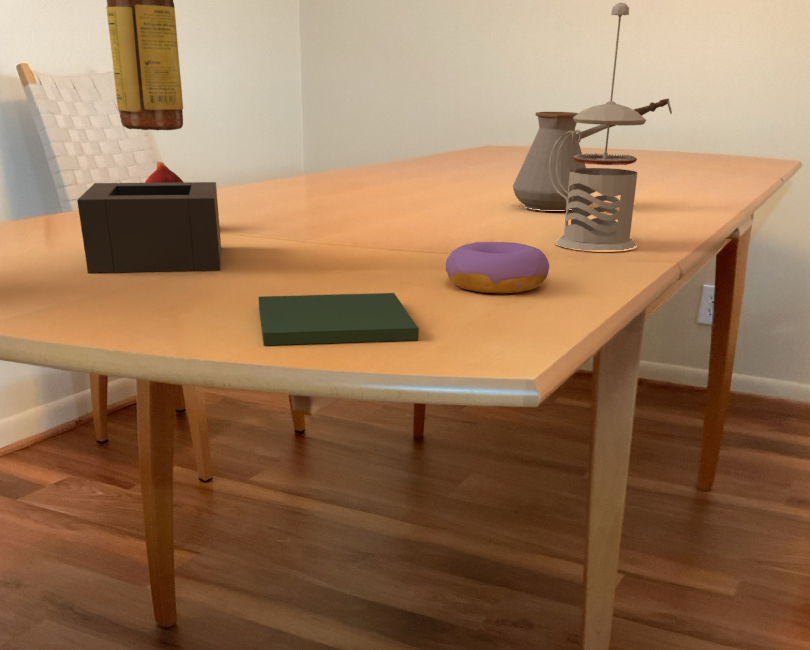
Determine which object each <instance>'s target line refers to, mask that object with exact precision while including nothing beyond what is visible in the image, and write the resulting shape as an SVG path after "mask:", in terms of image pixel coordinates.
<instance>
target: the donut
mask: <svg viewBox="0 0 810 650" xmlns="http://www.w3.org/2000/svg"><path fill="white" fill-rule="evenodd" d="M549 271H550V262H549V259H548V257H547V255H546V254H545V253H544V252H543V251H542V250H541V249H539V248H537V247H535V246H532V245H528V244H524V243H519V242H508V241H507V242H506V241H475V242H471V243H467V244H463V245H460V246H458V247H455V248H454V249H453V250H452V251H451V252H450V253H449V254H448V256H447V258H446V261H445V272H446V274H447V276H448V279H449V280H450V281H451V283H453V284H454V285H456V286H458V287H459V288H461V289H464V290H468V291H471V292H477V293H484V294H485V293H486V294H518V293H524V292H528V291H532V290H534V289H536V288H538V287H539V286H541V285H542V284H543V283H544V282H545V281H546V279H547V278H548V276H549Z"/></svg>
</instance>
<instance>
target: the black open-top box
mask: <svg viewBox="0 0 810 650" xmlns="http://www.w3.org/2000/svg"><path fill="white" fill-rule="evenodd" d="M76 202H77V208H78V215H79V216H78V217H79V222H80V228H81V237H82V242H83V250H84V257H85V263H86V269H87V274H100V273H99V272H102V273H101V274H104V272H112V273H115V272H116V273H152V272H153V273H154V272H155V273H157V272H159V273H160V272H161V273H162V272H196V271H198V272H201V271H204V272H205V271H220V270H221V263H222V261H221V260H222V259H221V258H222V240H221V227H220V218H219V216H220V215H219V203H218V189H217V182H216V181H214V182H213V181H198V182H197V181H195V182H194V181H193V182H191V181H183V182H173V183H145V182H94V183H93V184H92V185H91V186H90V187H89V188H87V190H86V191H84V193H83V194H82V195H80V197H79V198H77V199H76Z"/></svg>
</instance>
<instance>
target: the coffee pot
mask: <svg viewBox="0 0 810 650" xmlns="http://www.w3.org/2000/svg"><path fill="white" fill-rule="evenodd" d="M664 106H667V109H668V112H669V114H670V115H672V114H673V112H672V107H671V103H670V98H669V97H668V98H663V99H660V100H659V101H657V102H653V101H651V102H650V103H649V104H648V105H645V106H641V107H638V108H637V107H636V108H634V109H633V110H635V111H636V112H638V113H639V114H640V115H641V116H642V117H643V116H644V115H646V114H647V113H649V112H655V111H656V110H657V109H658V108H663V107H664ZM578 113H579V112H573V111H571V112H570V111H537V112H535V116H536V117H537V120H538V121H537V122H538V130H537V133H536V134H535V136H534V138H533V141H532V143H531V145H530V147H529V150H528V152H527V154H526V156H525V158H524V161H523V163H522V164H521V167H520V169H519V172H518V173H517V176H516V179H515V180H514V183H513V184H512V189H513V193H514V195H515V197H516V199H517V200H518V201H519V202H520V203H522V204H523V205H524V206H525V207H527V208H532V209H540V210H566V202H567V201H566V199H565V198H564V197H563V196H561V195H560V194H559V193H558V192H557V191H556V190H555V188H554V187H553V185H552V182H551V179H550V174H549V161H550V155H551V151H552V149H553V147H554V145H555V143H556V141H557V140H558V139H559V138H560V137H561V136H562V135H564V134H565V133H567V132H568V131H570V130H571V131H573V132H574V131H575V130H576V127H577V124H578V123H576V122H575V121H574V119H573V117H574V116H576V115H577V114H578ZM616 126H617V125H610V127H609V129H610V128H613V127H616ZM607 128H608V125H600V124H597V125H596V126H593V127H591V128H588V129H585V130H582V131H581V133H582V135H581V140H584V139H585V138H587V137H590V136H592V135H594V134H597V133H599V132H601V131H604V130H606V129H607ZM569 134H571V133H569ZM569 134H567V135H566V136H564V137H563V138H562V139H561V140H560V141H559V142H558V144H557V146H556V148H555V150H554V152H553V155H552V164H551V172H552V179H553V182H554V185H555V186H556V188H557V189H558V190H559V192H561V193H562V194H563V195H565V196H566V197H568V194H567V193H566V192H564V191H563V189H562V188H561V186H560V185H559V182H558V178H557V173H556V161H557V153H558V150H559V148H560V146H561V144H562V142H563V140H564V139H565V138H566V137H567V136H568V135H569ZM578 140H579V133H578V132H577V133H575V140H574V141H575V142H578ZM578 154H583V153H582V149H581V146H580V142H579V143H578V144H574V143H573V142H572V135H571V136H570V137H569V138H568V139H567V140H566V141H565V142H564V144H563V146H562V148H561V151H560V154H559V161H558V172H559V178H560V181H561V184H562V185H563V187H564V188H565V189H566V190H567V191H568V186H569V175H570V170H573V172H574V173H576V169H581V168H587V166H586V164H585V162H584V163H580V162H576V161H575V160H574V158H573V157H574V156H575V155H578ZM572 190H574V184H572V185H571V191H572ZM570 202H573V199H572V197H570ZM570 209H572V208H570Z"/></svg>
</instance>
